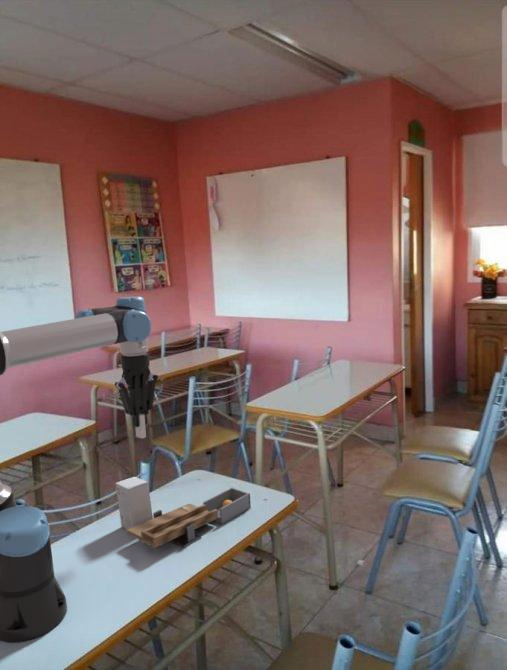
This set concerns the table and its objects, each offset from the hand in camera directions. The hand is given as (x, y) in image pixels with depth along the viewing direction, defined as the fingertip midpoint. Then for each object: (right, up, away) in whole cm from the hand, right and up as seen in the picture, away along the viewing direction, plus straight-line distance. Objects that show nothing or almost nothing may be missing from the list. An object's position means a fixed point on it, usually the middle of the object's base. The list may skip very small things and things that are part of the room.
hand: (141, 436), depth 154 cm
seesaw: (+9, -23, -3) cm, 25 cm away
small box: (-1, -26, +2) cm, 26 cm away
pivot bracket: (+10, -26, -2) cm, 28 cm away
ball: (+24, -22, +8) cm, 33 cm away
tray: (+24, -24, +8) cm, 34 cm away
